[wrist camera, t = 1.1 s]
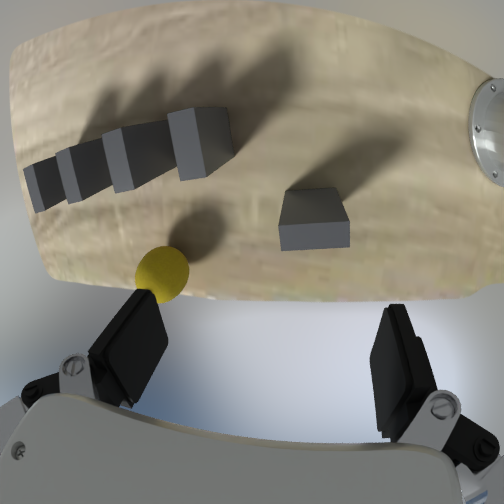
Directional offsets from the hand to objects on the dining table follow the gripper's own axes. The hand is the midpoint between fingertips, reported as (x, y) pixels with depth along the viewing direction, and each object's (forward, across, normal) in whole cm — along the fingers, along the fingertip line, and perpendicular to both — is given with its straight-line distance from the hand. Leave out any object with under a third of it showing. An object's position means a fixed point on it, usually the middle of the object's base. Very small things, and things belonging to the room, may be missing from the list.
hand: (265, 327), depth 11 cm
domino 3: (+19, +13, -5) cm, 24 cm away
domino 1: (+19, +25, -4) cm, 31 cm away
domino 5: (+19, -2, +1) cm, 19 cm away
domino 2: (+19, +19, -5) cm, 27 cm away
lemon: (+19, +13, +8) cm, 25 cm away
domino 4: (+19, +7, -6) cm, 21 cm away
